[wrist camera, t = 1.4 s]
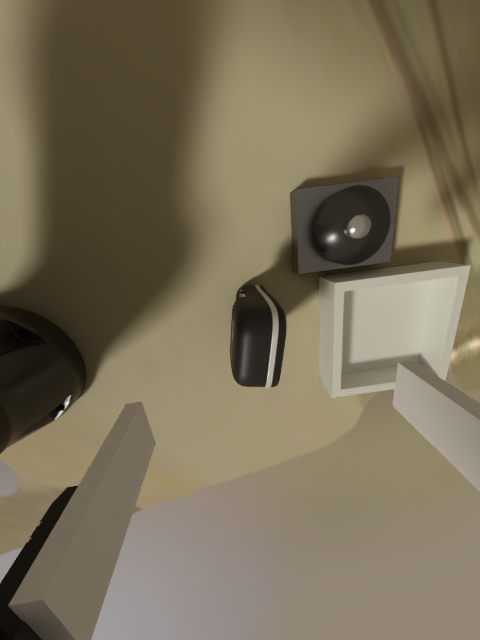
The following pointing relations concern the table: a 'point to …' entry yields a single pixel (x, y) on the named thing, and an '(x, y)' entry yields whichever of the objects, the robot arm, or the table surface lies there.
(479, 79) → the table surface
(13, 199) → the table surface
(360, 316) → the tray
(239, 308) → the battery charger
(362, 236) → the speaker
